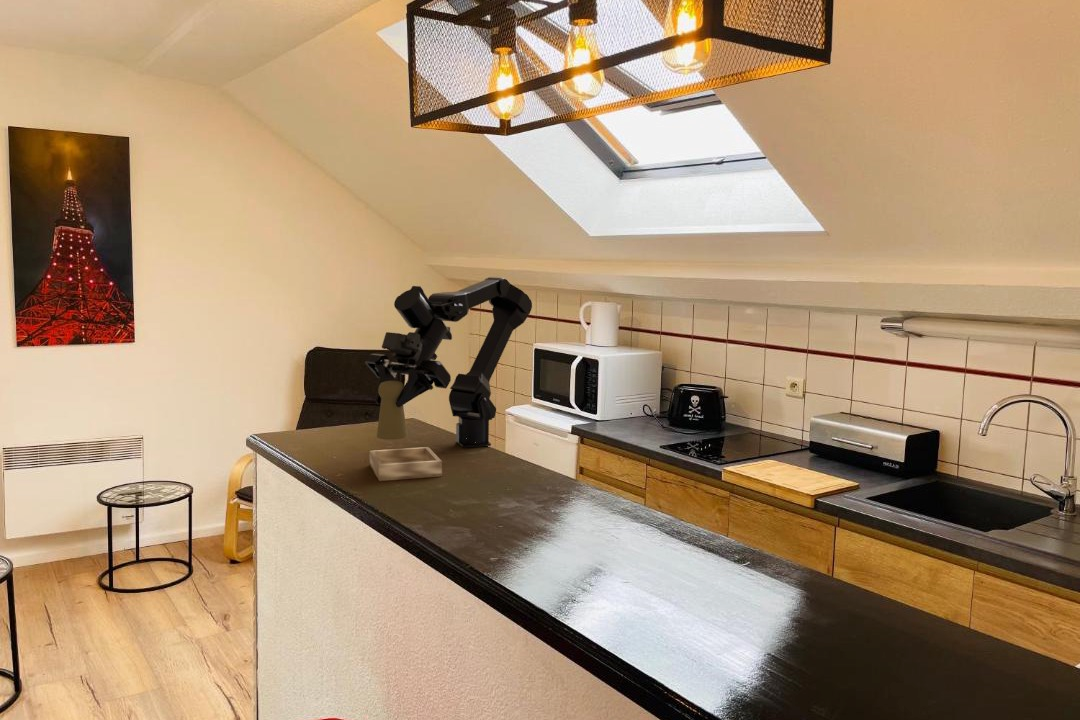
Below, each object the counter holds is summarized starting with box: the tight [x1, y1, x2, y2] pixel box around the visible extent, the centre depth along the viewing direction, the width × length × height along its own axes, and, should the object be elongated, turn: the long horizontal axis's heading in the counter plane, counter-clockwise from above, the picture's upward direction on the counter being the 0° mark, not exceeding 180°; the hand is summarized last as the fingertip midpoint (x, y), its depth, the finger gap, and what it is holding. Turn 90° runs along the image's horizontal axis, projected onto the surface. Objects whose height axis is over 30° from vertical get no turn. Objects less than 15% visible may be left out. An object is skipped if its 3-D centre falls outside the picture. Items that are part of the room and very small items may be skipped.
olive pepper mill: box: [376, 380, 408, 441], centre depth 165 cm, size 6×6×11 cm
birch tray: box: [369, 446, 443, 482], centre depth 166 cm, size 12×12×3 cm
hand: (387, 404), depth 164 cm, fingers closed on olive pepper mill, 5 cm apart
